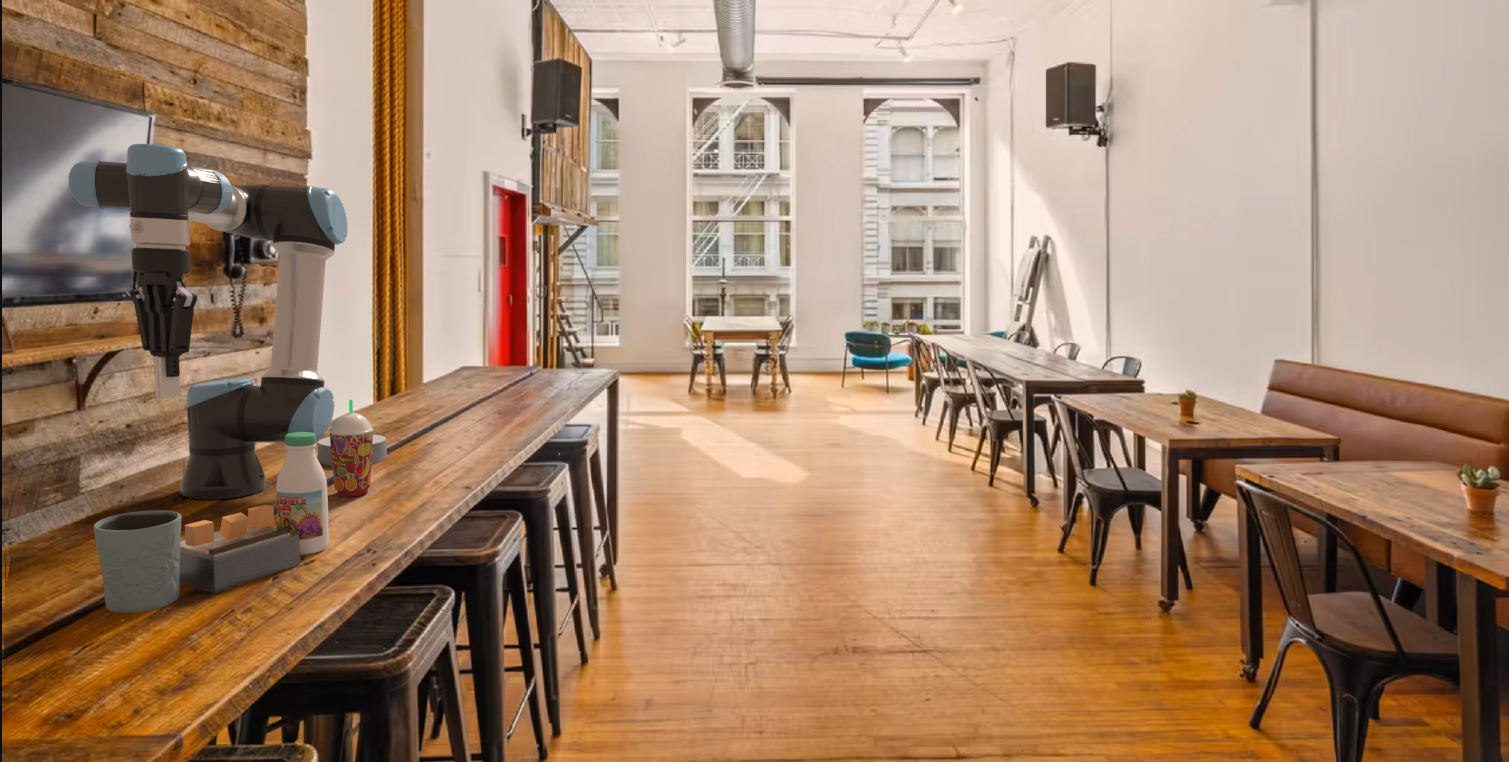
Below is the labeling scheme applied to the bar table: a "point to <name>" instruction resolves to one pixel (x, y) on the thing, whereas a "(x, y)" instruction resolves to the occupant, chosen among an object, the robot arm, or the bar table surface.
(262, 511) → the tan wooden block
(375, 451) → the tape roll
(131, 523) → the gray green pot
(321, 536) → the milk bottle
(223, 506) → the bar table surface
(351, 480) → the smoothie
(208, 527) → the orange tall rectangular block
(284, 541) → the gray rectangular tray
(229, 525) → the small orange block
